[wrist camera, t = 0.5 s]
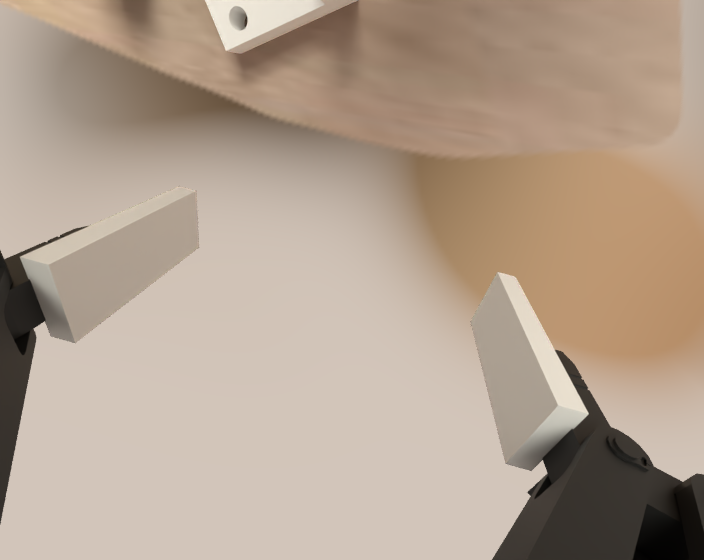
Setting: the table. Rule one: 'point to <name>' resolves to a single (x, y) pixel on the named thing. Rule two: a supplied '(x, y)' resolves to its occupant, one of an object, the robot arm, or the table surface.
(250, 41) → the bracket
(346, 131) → the table surface
